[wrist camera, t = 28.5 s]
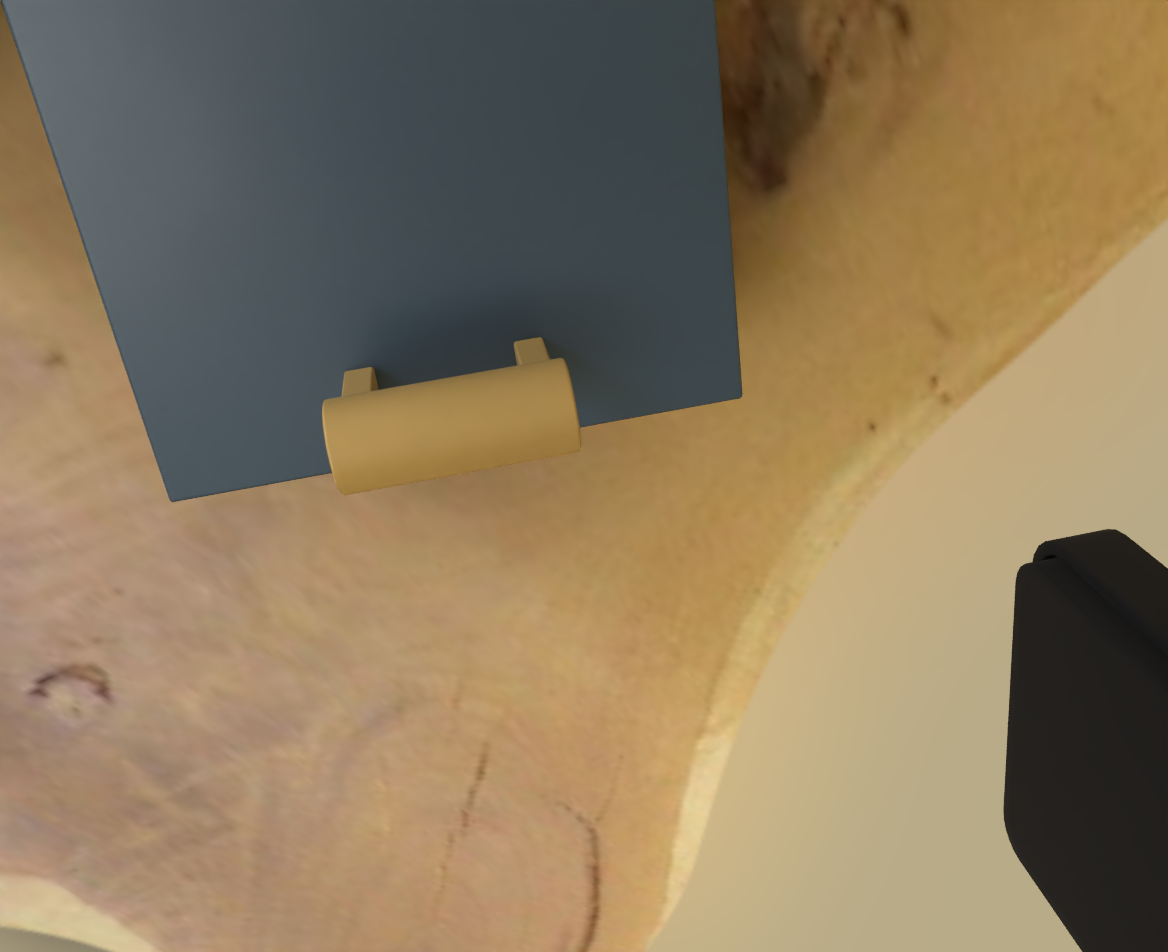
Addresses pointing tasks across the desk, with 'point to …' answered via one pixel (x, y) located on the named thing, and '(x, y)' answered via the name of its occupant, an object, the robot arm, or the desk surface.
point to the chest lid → (393, 224)
